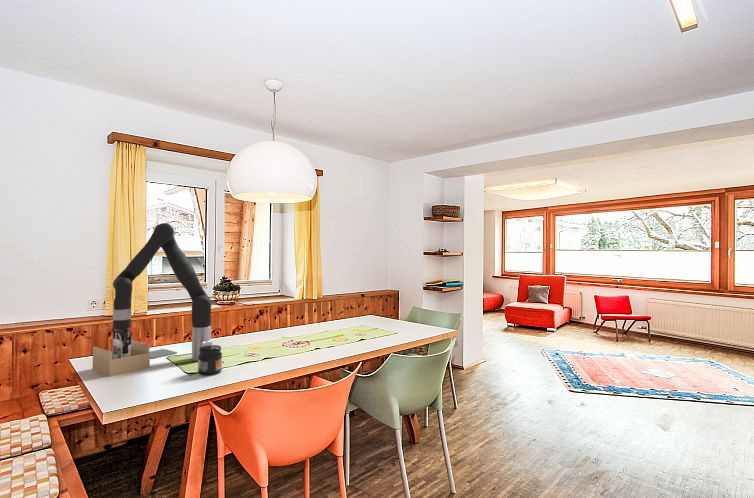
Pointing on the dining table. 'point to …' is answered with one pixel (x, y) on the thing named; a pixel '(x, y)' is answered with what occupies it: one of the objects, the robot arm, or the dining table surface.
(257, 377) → the dining table surface
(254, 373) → the dining table surface
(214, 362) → the supplement container
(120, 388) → the dining table surface
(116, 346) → the syrup box
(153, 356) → the mat
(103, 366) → the carton
